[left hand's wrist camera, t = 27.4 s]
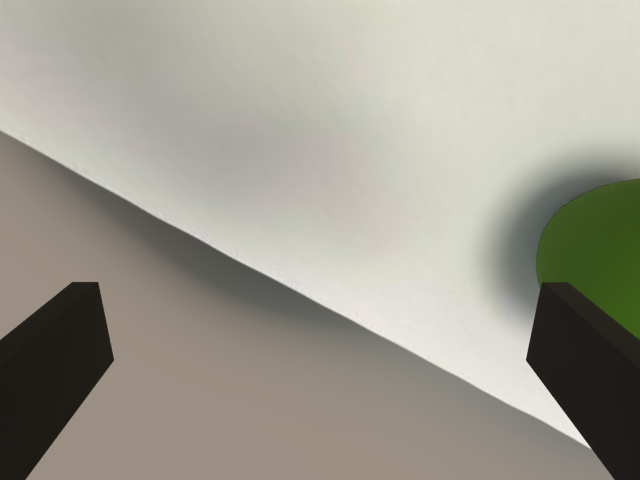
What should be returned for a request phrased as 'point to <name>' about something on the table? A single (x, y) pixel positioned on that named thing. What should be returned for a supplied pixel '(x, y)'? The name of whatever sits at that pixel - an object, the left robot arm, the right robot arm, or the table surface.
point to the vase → (598, 250)
